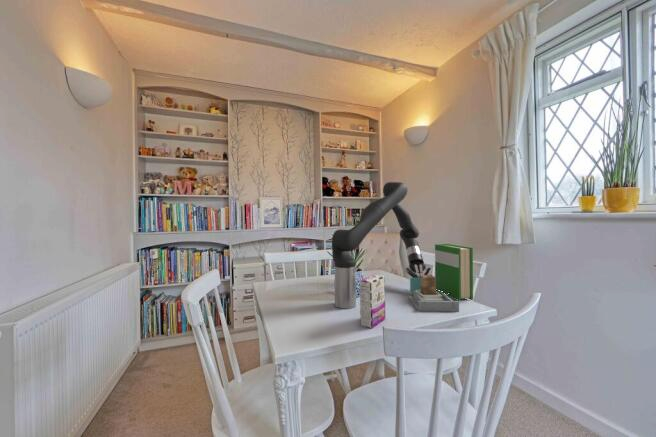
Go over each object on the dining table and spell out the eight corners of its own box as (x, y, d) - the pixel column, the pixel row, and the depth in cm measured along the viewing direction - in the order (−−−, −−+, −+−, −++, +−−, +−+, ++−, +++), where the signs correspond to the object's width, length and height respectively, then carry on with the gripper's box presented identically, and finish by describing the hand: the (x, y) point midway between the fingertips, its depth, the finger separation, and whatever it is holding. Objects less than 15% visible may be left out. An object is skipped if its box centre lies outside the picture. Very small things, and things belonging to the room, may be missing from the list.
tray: (418, 301, 115) (418, 285, 115) (410, 291, 130) (409, 277, 130) (446, 301, 114) (446, 285, 114) (434, 291, 129) (434, 277, 129)
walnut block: (424, 297, 118) (424, 277, 118) (420, 294, 123) (420, 275, 123) (435, 297, 118) (435, 277, 118) (431, 294, 123) (431, 274, 123)
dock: (418, 310, 107) (418, 301, 107) (408, 297, 124) (408, 289, 124) (459, 311, 106) (458, 301, 106) (443, 298, 123) (443, 290, 123)
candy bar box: (373, 315, 103) (373, 274, 102) (385, 318, 100) (385, 275, 99) (359, 325, 94) (358, 279, 94) (371, 329, 91) (371, 281, 91)
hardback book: (473, 299, 121) (472, 247, 121) (459, 300, 120) (458, 248, 119) (447, 289, 138) (447, 243, 138) (435, 290, 137) (435, 244, 137)
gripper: (403, 252, 140) (409, 280, 127) (428, 252, 139) (437, 280, 127) (401, 260, 145) (406, 288, 133) (425, 260, 144) (433, 288, 132)
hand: (421, 284), depth 130 cm, fingers closed
